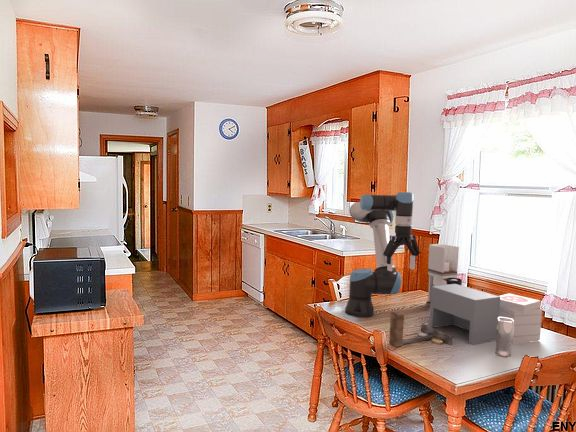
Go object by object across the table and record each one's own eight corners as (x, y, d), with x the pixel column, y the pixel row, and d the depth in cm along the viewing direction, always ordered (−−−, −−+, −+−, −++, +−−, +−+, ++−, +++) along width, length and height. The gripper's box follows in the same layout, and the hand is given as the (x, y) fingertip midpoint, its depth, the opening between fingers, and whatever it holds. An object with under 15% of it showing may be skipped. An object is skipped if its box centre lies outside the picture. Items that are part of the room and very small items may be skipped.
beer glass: (490, 351, 194) (492, 316, 193) (506, 351, 195) (508, 316, 193) (499, 357, 187) (502, 322, 186) (515, 357, 188) (518, 322, 186)
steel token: (415, 335, 212) (415, 331, 212) (422, 333, 214) (423, 330, 214) (423, 338, 207) (423, 335, 207) (431, 337, 210) (431, 333, 210)
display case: (426, 304, 263) (429, 244, 260) (440, 303, 267) (443, 243, 264) (440, 310, 252) (444, 247, 249) (454, 308, 257) (458, 246, 254)
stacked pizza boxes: (499, 322, 235) (502, 287, 233) (546, 343, 206) (549, 303, 205) (467, 324, 230) (469, 288, 228) (511, 346, 201) (514, 305, 200)
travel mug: (457, 314, 245) (459, 277, 244) (461, 319, 238) (463, 281, 236) (442, 313, 246) (445, 277, 244) (446, 318, 239) (448, 280, 237)
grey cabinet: (429, 326, 224) (431, 286, 222) (452, 322, 231) (455, 283, 229) (472, 344, 201) (475, 300, 199) (497, 339, 208) (500, 296, 206)
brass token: (429, 341, 204) (429, 338, 204) (436, 339, 206) (436, 336, 206) (438, 345, 200) (438, 341, 199) (445, 343, 202) (446, 340, 202)
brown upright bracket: (379, 338, 205) (381, 307, 204) (422, 331, 217) (423, 301, 215) (407, 352, 189) (409, 319, 188) (451, 343, 201) (453, 312, 199)
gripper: (387, 226, 205) (385, 273, 207) (429, 225, 217) (426, 269, 219) (377, 224, 212) (374, 270, 214) (418, 223, 223) (415, 266, 225)
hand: (401, 269), depth 216 cm, fingers open, 13 cm apart
